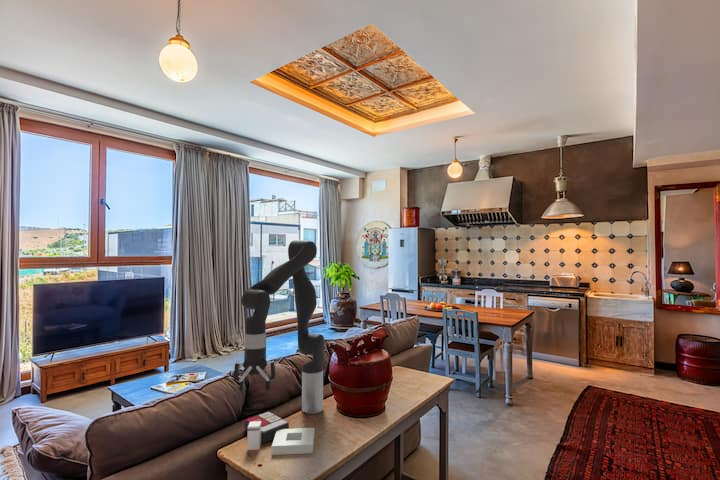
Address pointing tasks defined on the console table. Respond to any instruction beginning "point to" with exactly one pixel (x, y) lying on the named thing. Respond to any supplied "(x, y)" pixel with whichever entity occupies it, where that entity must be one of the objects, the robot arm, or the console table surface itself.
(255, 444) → the white rectangular block
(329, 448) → the console table surface
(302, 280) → the robot arm
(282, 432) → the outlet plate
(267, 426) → the dark grey product box
